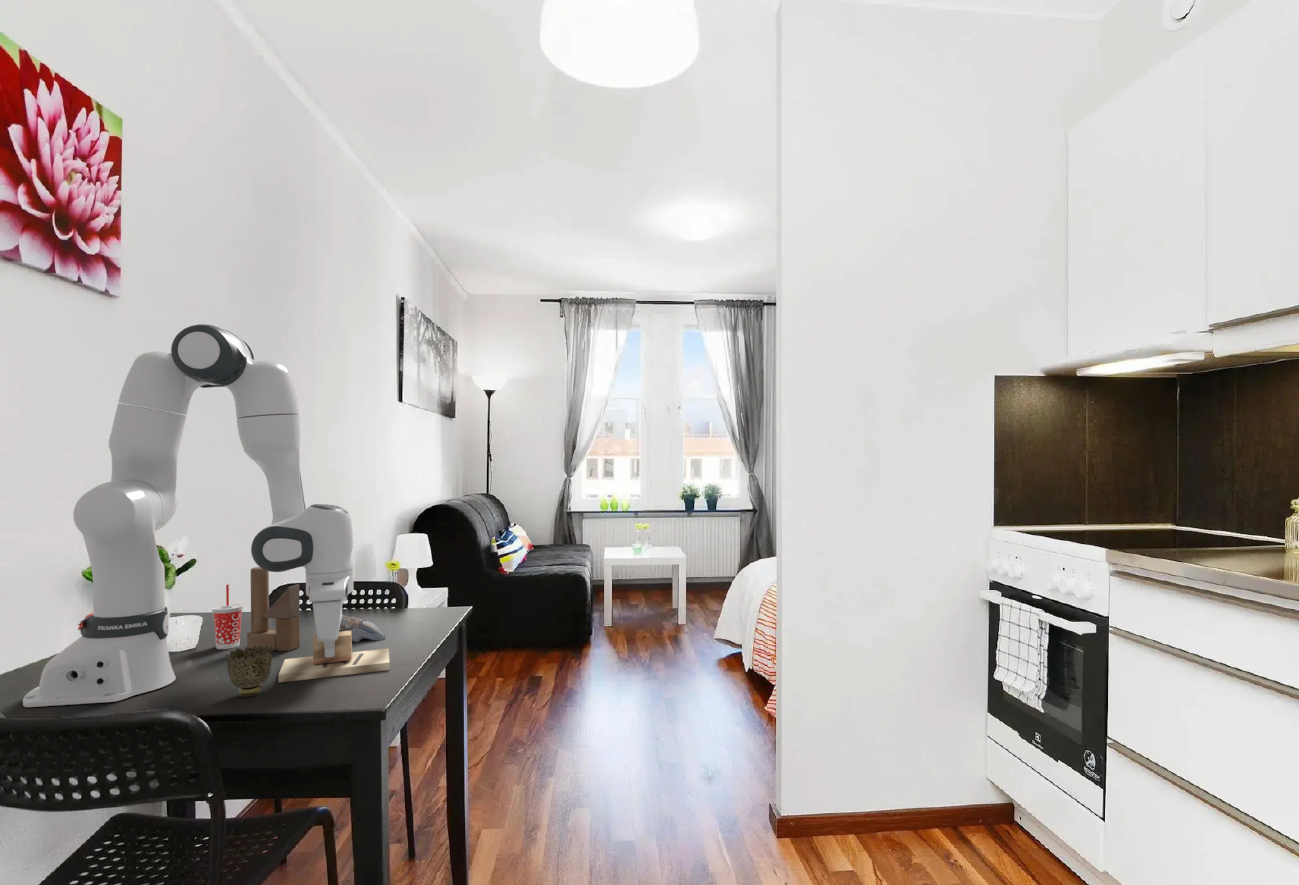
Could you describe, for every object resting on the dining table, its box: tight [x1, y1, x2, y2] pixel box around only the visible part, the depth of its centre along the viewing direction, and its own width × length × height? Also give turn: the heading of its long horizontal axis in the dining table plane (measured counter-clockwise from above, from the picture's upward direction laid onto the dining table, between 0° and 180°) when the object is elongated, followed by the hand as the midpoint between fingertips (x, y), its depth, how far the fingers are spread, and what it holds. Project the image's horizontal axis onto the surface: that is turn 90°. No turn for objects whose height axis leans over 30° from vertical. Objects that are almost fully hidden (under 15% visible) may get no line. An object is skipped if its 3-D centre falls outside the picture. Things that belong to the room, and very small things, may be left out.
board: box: [277, 648, 391, 683], centre depth 147 cm, size 20×11×2 cm, turn 111°
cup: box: [225, 646, 274, 698], centre depth 132 cm, size 8×7×8 cm
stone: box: [339, 613, 386, 643], centre depth 174 cm, size 17×5×10 cm
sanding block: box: [312, 630, 353, 664], centre depth 147 cm, size 7×4×5 cm, turn 111°
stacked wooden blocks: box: [246, 566, 301, 652], centre depth 163 cm, size 4×11×18 cm, turn 80°
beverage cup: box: [211, 584, 244, 650], centre depth 165 cm, size 6×6×14 cm
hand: (330, 652), depth 146 cm, fingers closed on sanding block, 4 cm apart
